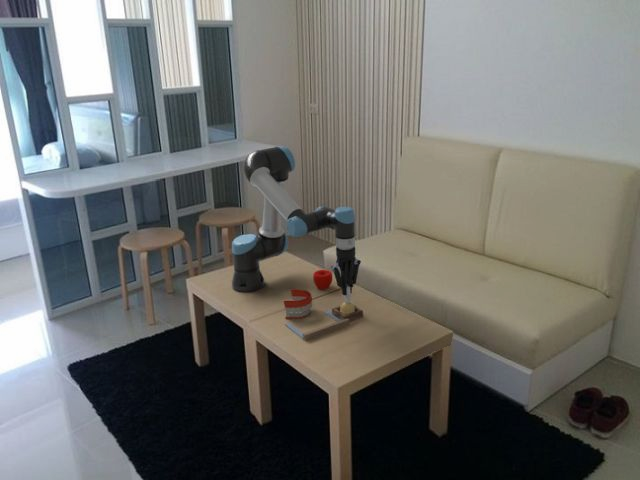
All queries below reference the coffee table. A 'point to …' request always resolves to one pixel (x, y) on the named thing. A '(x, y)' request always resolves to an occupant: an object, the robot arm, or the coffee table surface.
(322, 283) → the apple
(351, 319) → the base
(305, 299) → the toy
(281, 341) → the coffee table surface
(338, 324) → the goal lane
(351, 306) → the pale yellow sphere
